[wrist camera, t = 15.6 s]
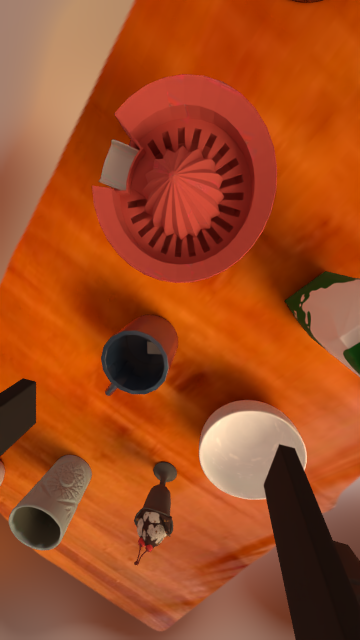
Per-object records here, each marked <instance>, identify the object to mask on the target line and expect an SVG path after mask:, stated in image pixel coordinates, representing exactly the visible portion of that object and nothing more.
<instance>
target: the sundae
mask: <svg viewBox="0 0 360 640" xmlns="http://www.w3.org/2000/svg"><path fill="white" fill-rule="evenodd" d="M154 475H155V476H156V477H157V478H158V479H159V480H160V484H159V485H156V486H154V487H153V488H152V489H151V491H150V492H149V494H148V497H147V499H146V501H145V504H144V506H143V508H142V509H141V510H140V511H139V512H138V513H137V514H136V516H135V519H134V522H135V525H136V526H137V532H138V535H139V537H140V539H139V541H138V543H139V546H140V550H141V547H144V546H145V545H146V551H145V552H144V553H143V554H142V555H141V557H142V556H143V555H144V554H145V553H146V552H147V551H148V552H151V551H152V549H153V548H154V547H155V546H158V545H159V544H160V543H161V541H162V540H163V538H165V537H166V536H169V537H170V534H171V533H172V531H173V521H172V517H171V516H170V505H171V499H170V492H169V490H168V489H167V487H165V483H166V482H170V481H173V480H174V479H175V478H176V476H177V471H176V469H175V467H174V466H173V465H171V464H169V463H166V462H161V463H158V464H157V465H155V467H154ZM140 550H139V555H140ZM139 555H138V558H139ZM141 557H140V558H141ZM139 561H140V559H139ZM139 561H138V559H137V561H136V562H135V563H134V564H135V565H138V564H139Z"/></svg>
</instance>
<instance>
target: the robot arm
mask: <svg viewBox="0 0 360 640" xmlns="http://www.w3.org/2000/svg"><path fill="white" fill-rule="evenodd" d="M293 1H296V2H304V3H310V2H318V1H323V0H293ZM35 423H36V382H35V381H31V380H27V379H21V380H20V381H18V382H17V383H15V384H14V385H12V386H11V387H9V388H7V389H6V390H4V391H3V392H1V393H0V456H1V455H2V454H3V453H4V452H5V451H6V450H7V449H8V448H10V447H11V446H12V445H13V444H14V443H15V442H16V441H17V440H18V439H19V438H20V437H21V436H22V435H23V434H24V433H26V432H27V431H28V430H29V429H30V428H31V427H32V426H33V425H34V424H35ZM264 490H265V495H266V500H267V504H268V509H269V514H270V519H271V524H272V528H273V533H274V538H275V543H276V547H277V552H278V557H279V562H280V567H281V571H282V576H283V581H284V586H285V591H286V595H287V600H288V605H289V609H290V615H291V619H292V624H293V629H294V634H295V638H296V640H360V561H359V559H358V558H357V557H356V555H355V554H354V553H353V551H352V550H351V548H350V547H349V546H348V545H346V544H343V543H339V542H335V541H333V540H332V537H331V535H330V533H329V530H328V528H327V525H326V523H325V520H324V518H323V515H322V513H321V511H320V508H319V506H318V503H317V501H316V498H315V496H314V494H313V491H312V489H311V486H310V484H309V481H308V479H307V476H306V474H305V472H304V469H303V467H302V464H301V462H300V459H299V457H298V455H297V452H296V450H295V448H292V447H289V446H285V445H281V444H279V446H278V448H277V451H276V454H275V456H274V459H273V461H272V464H271V467H270V469H269V472H268V475H267V477H266V480H265V482H264Z"/></svg>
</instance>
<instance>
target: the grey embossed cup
mask: <svg viewBox="0 0 360 640" xmlns="http://www.w3.org/2000/svg"><path fill="white" fill-rule="evenodd" d="M91 476H92V472H91V469H90V467H89V465H88V464H87V463H86V462H85V461H84V460H83V459H81V458H80V457H77V456H74V455H65V456H62V457H61V458H59V459H58V460H57V461H56V463H55V464H54V465H53V466H52V467H51V469H50V470H49V471H48V472H47V473H46V474H45V475H44V476H43V477H42V479H41V480H40V481H39V482H38V483H37V484H36V485H35V486H34V487H33V488H32V489H31V491H30V492H29V493H28V494H27V495H26V496H25V497H24V498H23V499H22V500H21V501H20V503H19V504H18V505H17V506H16V507H15V508H14V509H13V510H12V512H11V514H10V516H9V525H10V529H11V531H12V532H13V534H14V535H15V536H16V537H17V538H18V539H19V540H20V541H21V542H22V543H24V544H25V545H27V546H29V547H31V548H34V549H38V550H50V549H53V548H55V547H56V546H57V545H58V544H59V543H60V542H61V540H62V538H63V536H64V534H65V532H66V529H67V527H68V525H69V523H70V521H71V519H72V517H73V515H74V513H75V511H76V509H77V506H78V503H79V502H80V500H81V498H82V496H83V494H84V492H85V490H86V488H87V486H88V484H89V482H90V480H91Z"/></svg>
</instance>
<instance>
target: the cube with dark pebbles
mask: <svg viewBox="0 0 360 640" xmlns="http://www.w3.org/2000/svg"><path fill="white" fill-rule="evenodd" d="M147 350H148V354H161V352H160V350H159V349H158V347H157V346H156V345H155V344H154V343H153V342H151V341H150V340H148V341H147Z"/></svg>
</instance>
